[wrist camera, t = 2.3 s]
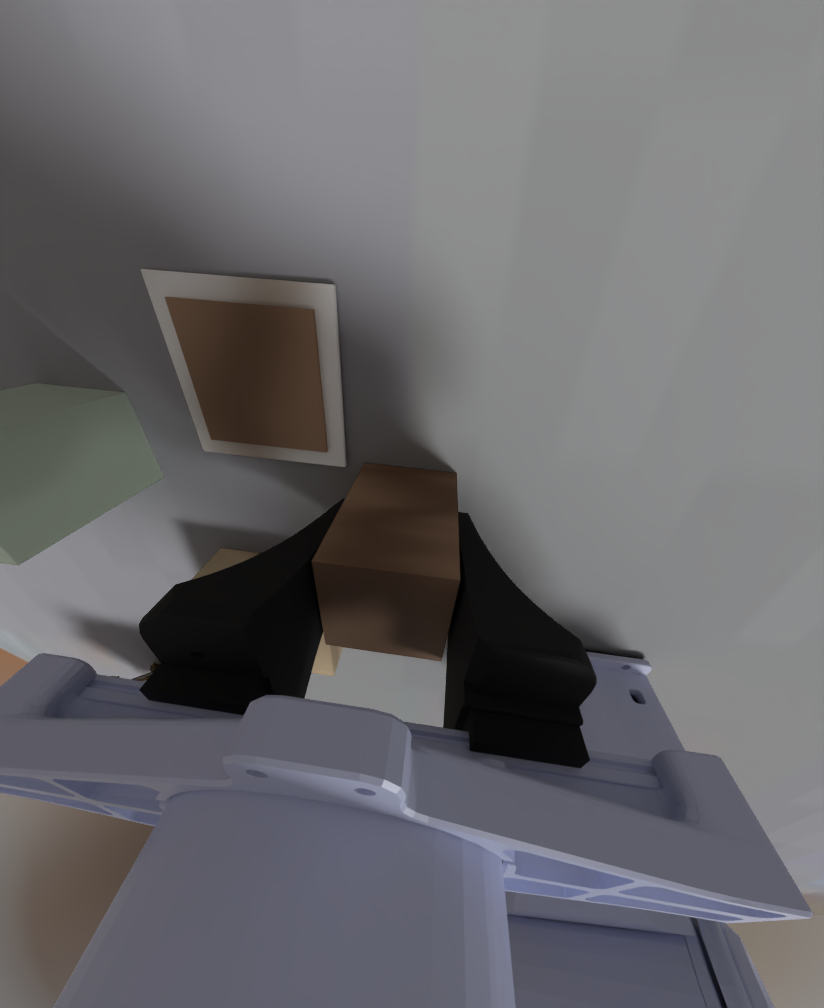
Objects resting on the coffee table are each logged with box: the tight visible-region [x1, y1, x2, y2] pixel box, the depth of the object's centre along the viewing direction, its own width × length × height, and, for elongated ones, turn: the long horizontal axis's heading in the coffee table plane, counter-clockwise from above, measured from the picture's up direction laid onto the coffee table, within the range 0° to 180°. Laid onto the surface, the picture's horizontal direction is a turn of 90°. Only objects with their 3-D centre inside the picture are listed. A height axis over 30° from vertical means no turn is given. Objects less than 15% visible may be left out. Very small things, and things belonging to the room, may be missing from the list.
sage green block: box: [0, 383, 164, 565], centre depth 11 cm, size 4×4×6 cm
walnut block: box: [312, 463, 460, 661], centre depth 12 cm, size 4×4×6 cm
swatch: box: [140, 269, 347, 467], centre depth 11 cm, size 6×6×1 cm
